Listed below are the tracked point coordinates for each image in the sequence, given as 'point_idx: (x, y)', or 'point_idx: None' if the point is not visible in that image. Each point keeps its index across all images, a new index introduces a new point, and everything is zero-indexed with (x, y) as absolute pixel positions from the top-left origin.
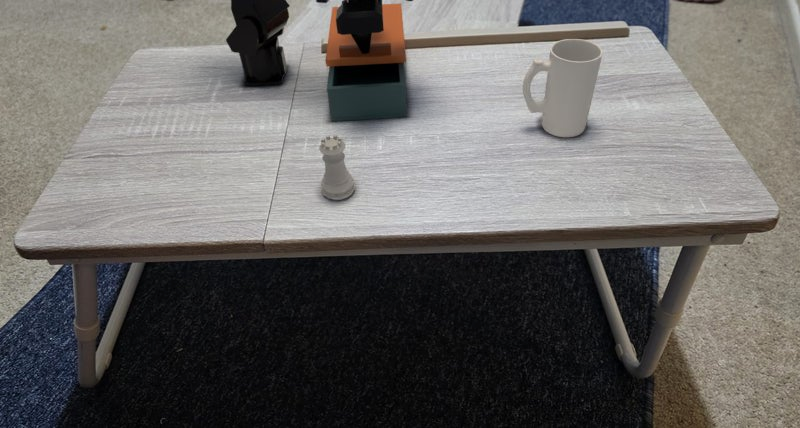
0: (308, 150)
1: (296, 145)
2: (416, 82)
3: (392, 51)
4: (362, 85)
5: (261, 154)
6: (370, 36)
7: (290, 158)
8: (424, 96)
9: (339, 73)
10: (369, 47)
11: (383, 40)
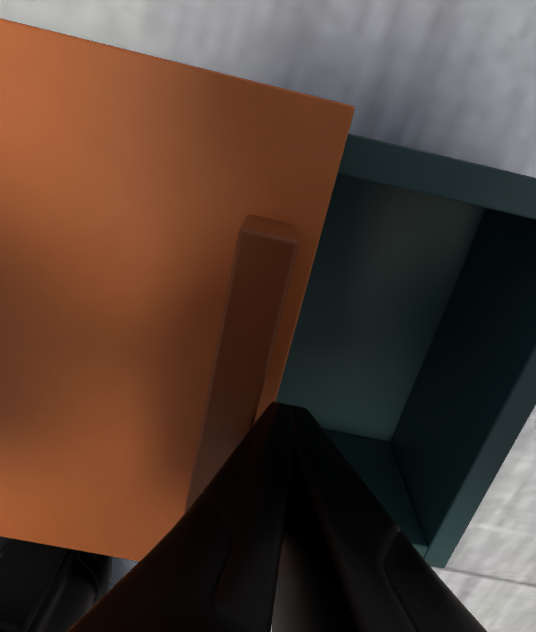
0: (520, 525)
1: (476, 546)
2: (220, 38)
3: (247, 203)
4: (498, 436)
5: (471, 613)
6: (399, 533)
7: (530, 565)
8: (374, 36)
9: None
10: (331, 440)
11: (34, 226)
